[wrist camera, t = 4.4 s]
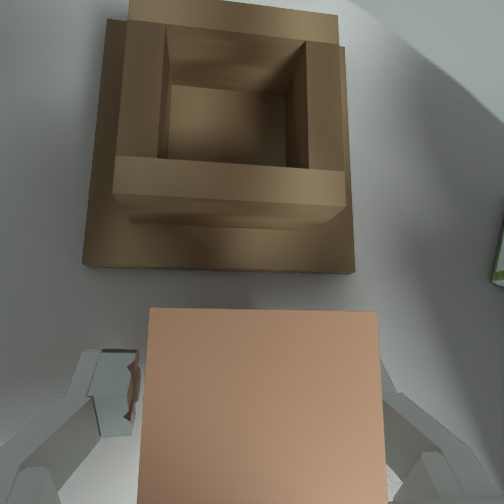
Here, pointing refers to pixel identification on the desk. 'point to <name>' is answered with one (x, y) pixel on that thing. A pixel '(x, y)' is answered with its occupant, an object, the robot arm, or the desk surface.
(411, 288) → the desk surface
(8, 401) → the desk surface
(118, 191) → the holder
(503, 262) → the syrup box
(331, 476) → the peg
